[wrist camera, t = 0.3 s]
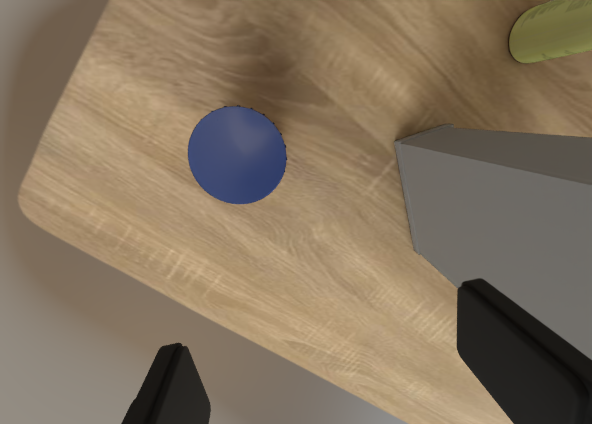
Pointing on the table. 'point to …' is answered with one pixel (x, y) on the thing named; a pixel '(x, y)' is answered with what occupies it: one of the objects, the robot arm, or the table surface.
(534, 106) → the table surface
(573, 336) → the tall grey upright box
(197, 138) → the jar lid
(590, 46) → the tube
